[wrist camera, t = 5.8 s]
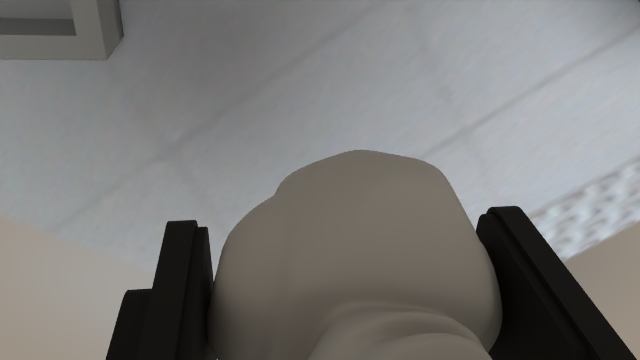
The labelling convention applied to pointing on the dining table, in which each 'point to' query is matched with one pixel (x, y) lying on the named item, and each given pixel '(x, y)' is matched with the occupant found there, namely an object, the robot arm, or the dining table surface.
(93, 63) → the dining table surface
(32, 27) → the tray
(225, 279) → the beige rounded piece
